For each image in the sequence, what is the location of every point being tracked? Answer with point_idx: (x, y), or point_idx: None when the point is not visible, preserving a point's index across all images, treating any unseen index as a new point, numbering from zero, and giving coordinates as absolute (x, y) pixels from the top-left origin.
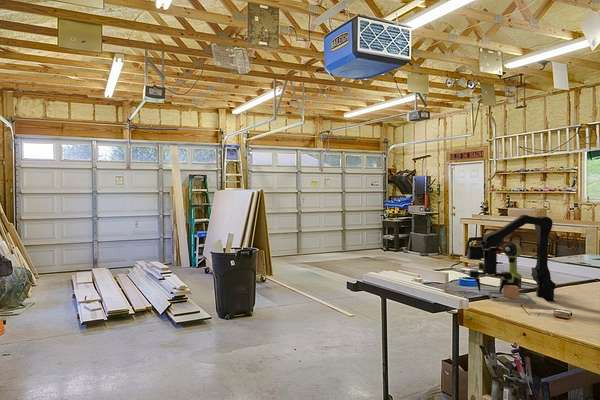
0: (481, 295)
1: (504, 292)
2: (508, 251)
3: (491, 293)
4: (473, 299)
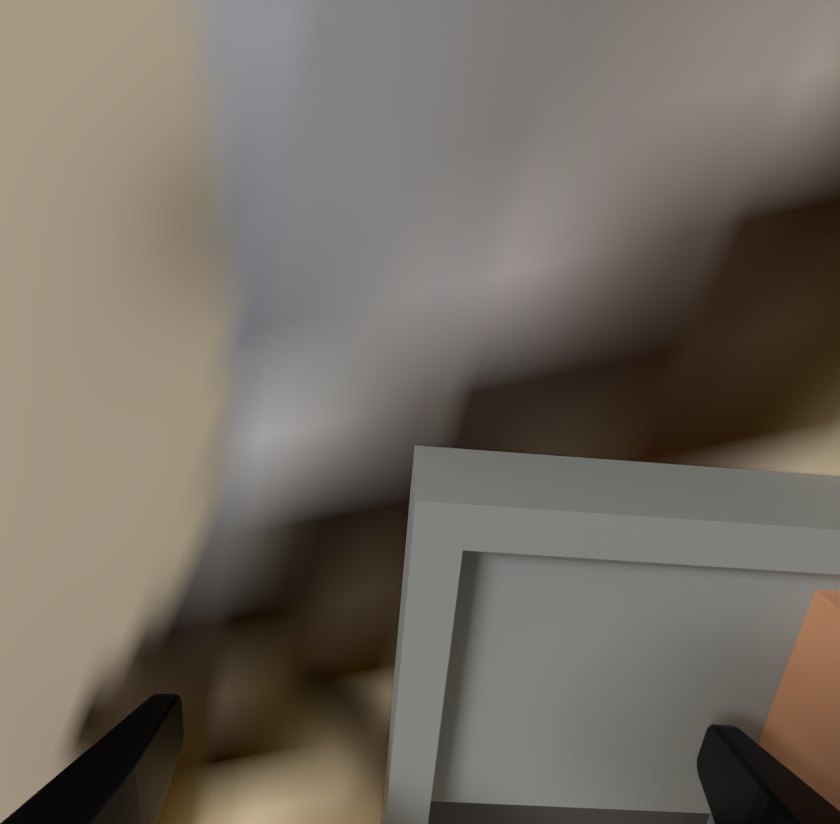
0: (291, 454)
1: None
2: None
3: (529, 561)
4: None
